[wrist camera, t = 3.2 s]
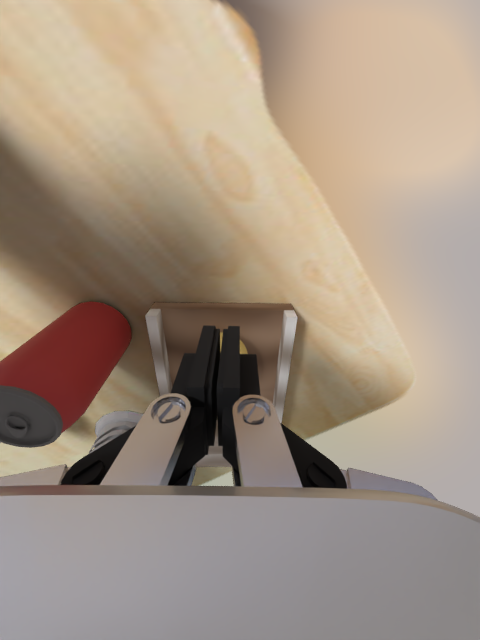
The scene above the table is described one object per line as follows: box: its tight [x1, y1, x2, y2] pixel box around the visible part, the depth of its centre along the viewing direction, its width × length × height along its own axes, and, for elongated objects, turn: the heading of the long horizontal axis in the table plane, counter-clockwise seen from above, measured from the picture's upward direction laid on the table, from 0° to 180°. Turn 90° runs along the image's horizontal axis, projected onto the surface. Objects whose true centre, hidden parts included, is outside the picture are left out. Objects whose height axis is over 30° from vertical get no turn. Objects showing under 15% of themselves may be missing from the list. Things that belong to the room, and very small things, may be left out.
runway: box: [145, 302, 298, 467], centre depth 28 cm, size 20×14×5 cm
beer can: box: [0, 302, 131, 448], centre depth 21 cm, size 7×7×12 cm
